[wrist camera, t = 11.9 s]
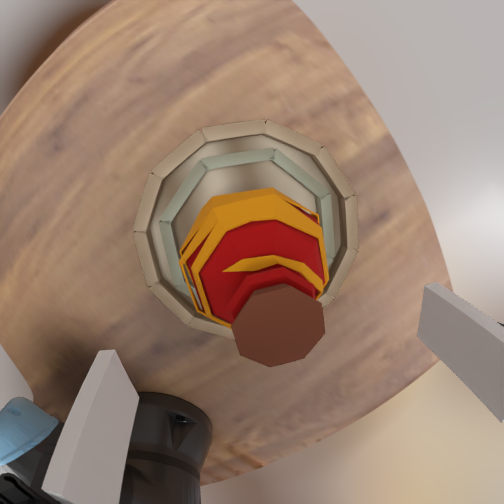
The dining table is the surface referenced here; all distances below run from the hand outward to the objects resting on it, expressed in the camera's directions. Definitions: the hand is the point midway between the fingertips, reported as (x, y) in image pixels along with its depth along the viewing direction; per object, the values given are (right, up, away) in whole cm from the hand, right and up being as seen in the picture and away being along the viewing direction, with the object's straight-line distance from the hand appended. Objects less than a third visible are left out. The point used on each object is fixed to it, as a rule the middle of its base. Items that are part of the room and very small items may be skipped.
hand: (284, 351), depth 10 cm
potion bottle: (-2, +5, +15) cm, 17 cm away
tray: (-2, +6, +16) cm, 18 cm away
